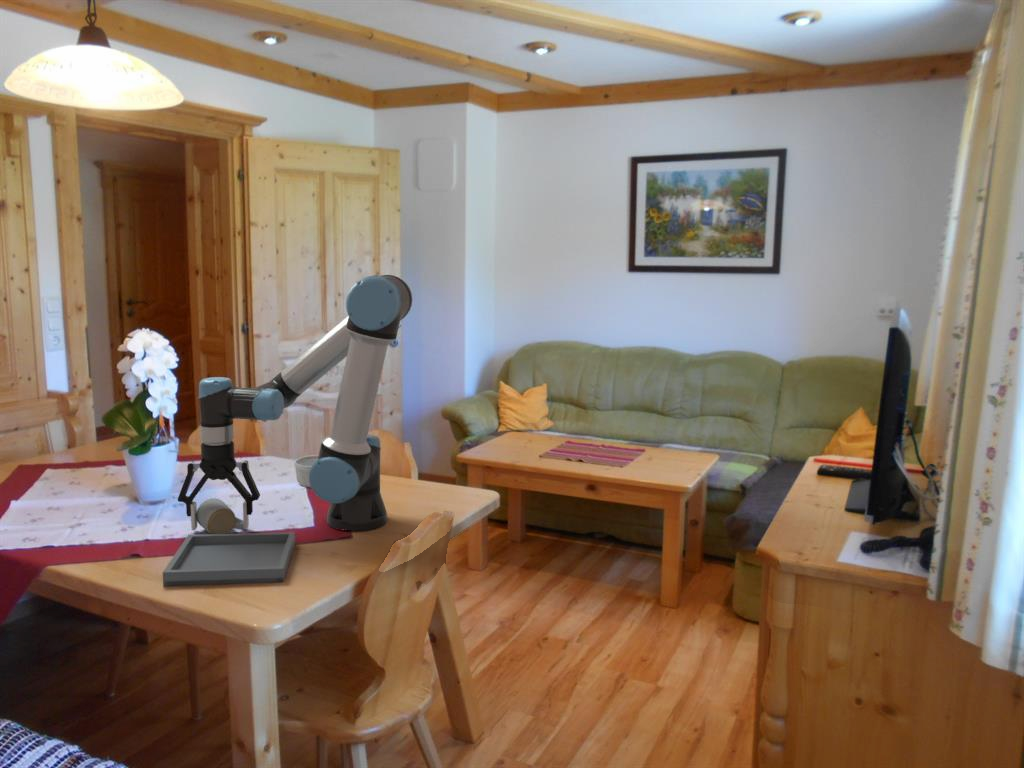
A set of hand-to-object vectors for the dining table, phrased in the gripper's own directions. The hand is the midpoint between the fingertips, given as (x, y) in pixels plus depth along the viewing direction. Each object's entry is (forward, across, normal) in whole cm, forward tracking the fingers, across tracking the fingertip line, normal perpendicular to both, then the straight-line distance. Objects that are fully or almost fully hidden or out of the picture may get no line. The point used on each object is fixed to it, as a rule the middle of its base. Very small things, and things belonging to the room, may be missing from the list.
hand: (220, 527), depth 196 cm
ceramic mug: (+1, 0, 0) cm, 1 cm away
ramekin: (+1, -20, -41) cm, 46 cm away
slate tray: (+1, -7, +21) cm, 22 cm away
